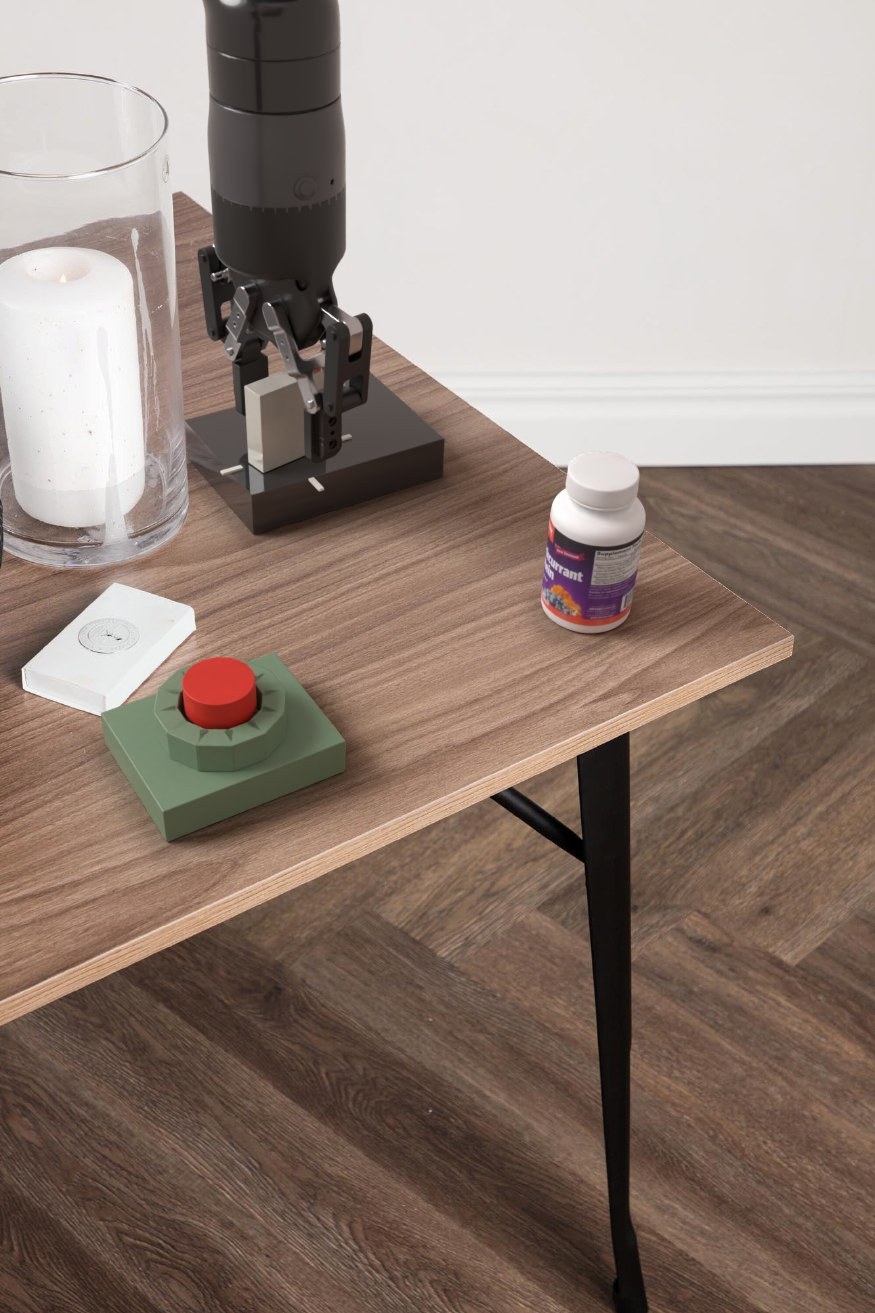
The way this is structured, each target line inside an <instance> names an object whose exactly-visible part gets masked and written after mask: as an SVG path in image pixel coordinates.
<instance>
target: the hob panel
mask: <svg viewBox="0 0 875 1313" xmlns="http://www.w3.org/2000/svg"><path fill="white" fill-rule="evenodd" d="M345 385H346V386H349V380H347V381H346V382H345ZM184 430H185V441H186V452H187V459H188V460H189V461H190V463H191V464H192V465H193V466H194V468H195V469H196V470H197V471H198V472H199V473H200V474H201V476H202V477H203V478H204V479H205V480H206V481H207V483H208V484H209V485H210V486H211V487H212V488H213V490H214V491H215V492H216V493H217V494H218V495H219V497H220V498H221V499H222V500H223V501H224V502H225V503H226V505H227V506H228V507H229V508H230V509H231V510H232V511H233V513H234V514H235V515H236V516H237V517H238V518H239V519H240V521H241V522H242V524H244V526H246V528H247V529H248V530H249V531H250V532H251V533H252V534H253V536H254V535H258V534H261V533H262V534H263V533H265V532H267V531H270V530H274V529H278V528H280V527H284V526H287V525H290V524H294V523H296V522H300V521H303V520H307V519H309V518H313V517H317V516H320V515H323V514H325V513H329V512H333V511H335V510H339V509H342V508H346V507H348V506H352V505H355V504H358V503H361V502H365V501H368V500H372V499H374V498H377V497H381V496H384V495H387V494H388V495H389V494H390V493H394V492H396V491H400V490H404V489H407V488H410V487H413V486H417V485H420V484H422V483H426V482H430V481H432V480H436V479H439V478H443V477H444V461H445V445H446V444H445V442H446V438H445V437H444V436H443V435H442V434H441V433H440V432H439V431H437V429H435V428H434V427H433V426H431V424H430V423H429V422H427V421H426V420H425V419H424V417H421V416H420V415H419V414H418V413H417V412H416V411H415V410H413V408H412V407H410V406H409V405H408V404H407V403H406V402H405V401H404V400H403V399H402V398H400V397H399V396H398V395H397V394H396V393H395V392H394V391H393V390H392V389H391V388H389V387H388V386H387V385H386V384H384V382H382V381H381V380H380V379H379V378H378V377H376V375H375V374H373V373H372V371H370V373H369V386H368V399H367V402H366V403H365V404H363V405H360V406H358V407H355V408H353V409H351V410H348V411H346V412H343V413H342V431H341V432H342V437H341V438H342V447H341V449H340V451H339V452H338V453H337V454H336V455H335V456H334V457H332V458H329V459H327V460H325V461H322V462H320V463H318V464H314V463H313V462H311V461H310V460H308V459H307V458H306V457H305V456H302V457H300V458H298V459H295V460H293V461H291V462H288V463H286V464H284V465H281V466H279V467H277V468H274V469H272V470H270V471H267V472H265V473H263V472H261V471H260V470H258V469H257V468H256V467H254V466H253V465H251V464H250V463H249V462H248V444H247V426H246V417H245V416H243V415H242V414H241V413H239V412H238V411H237V410H236V406H232V407H229V408H225V409H221V410H218V411H214V412H209V413H206V414H202V415H199V416H195V417H191V418H188V419H184Z"/></svg>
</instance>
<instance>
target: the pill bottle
mask: <svg viewBox="0 0 875 1313" xmlns="http://www.w3.org/2000/svg"><path fill="white" fill-rule="evenodd" d="M640 475H641V474H640V470H639V467H638V466H637V465H636V464H635V463H634V461H633V460H631V459H629V458H628V457H626V456H624V455H622V454H619V453H615V452H611V451H602V450H594V451H588V452H583V453H581V454H579V455H576V456H575V457H574V458H572V459H571V461H569V463H568V466H567V471H566V479H565V488H563V490H561V491H559V493H558V494H557V495H556V496H555V498H554V500H553V501H552V504H551V507H550V513H549V514H550V515H549V522H548V523H549V524H548V530H547V540H546V548H545V556H544V565H543V572H542V573H543V574H542V582H541V590H540V603H541V606H542V609H543V611H544V613H545V614H546V616H547V617H548V618H549V619H550V620H551V621H552V622H554V623H555V624H556V625H558V626H560V627H561V628H564V629H566V630H569V631H573V632H576V633H581V634H582V633H583V634H598V633H604V632H608V631H611V630H613V629H615V628H616V629H617V627H619V626H621V625H622V624H623V623H624V622H625V621H626V619H627V618H628V616H629V615H630V612H631V608H632V603H633V598H634V592H635V588H636V581H637V575H638V569H639V564H640V558H641V551H642V546H643V540H644V534H645V527H646V519H647V518H646V517H647V515H646V510H645V507H644V505H643V503H642V502H641V500H640V499H639V497H638V492H639V484H640Z"/></svg>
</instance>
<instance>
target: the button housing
mask: <svg viewBox="0 0 875 1313" xmlns="http://www.w3.org/2000/svg"><path fill="white" fill-rule="evenodd" d="M235 659H236V660H239V661H241V662H243V663H245V664H247V665H248V666H249V667H250V668H251V669H252V671H253V673H254V675H255V682H256V700H257V706H256V710H255V713H254V714H253V716H252V717H251V718H250V719H249V720H248V721H247V722H245V723H244V724H241V725H239V726H236V727H233V728H230V729H205V728H202V727H199V726H197V725H196V724H194V723H193V722H192V721H190V719H189V718H188V717H187V715H186V713H185V707H184V698H183V688H182V680H183V677H184V675H185V673H186V672H187V670H188V669H189V668H190V667H192V666H193V665H194V664H196V663H197V662H195V663H192V664H189V665H186V666H183V667H181V668H178V669H177V670H176V671H175V672H173V673H172V674H171V675H170V677H168V678H167V679H166V680H165V681H164V682H163V683H162V684H161V685H160V686H158V687H157V690H156V692H155V693H154V694H151V695H148V696H145V697H142V698H139V699H136V700H134V701H131V702H128V703H125V704H122V705H120V706H117V707H114V708H111V709H108V710H105V711H102V712H100V718H101V725H102V732H103V738H104V743H105V745H106V747H107V749H108V750H109V752H110V753H111V755H112V757H113V758H114V759H115V762H116V763H117V764H118V766H119V768H120V769H121V771H122V773H123V775H124V776H125V778H126V779H127V781H128V783H129V784H130V786H131V788H132V789H133V790H134V792H135V794H136V795H137V797H138V799H139V801H140V802H141V804H142V805H143V806H144V808H145V811H147V813H148V815H149V816H150V818H151V819H152V821H153V823H154V824H155V826H156V828H157V829H158V831H159V832H160V834H161V835H162V837H163V839H164V840H165V842H166V843H169V842H171V841H174V840H176V839H179V838H181V837H184V836H186V835H188V834H192V833H194V832H197V831H198V830H201V829H204V828H206V827H209V826H211V825H214V824H216V823H218V822H221V821H225V820H226V819H229V818H232V817H234V816H236V815H239V814H241V813H244V812H246V811H249V810H252V809H254V808H257V807H259V806H262V805H264V804H266V803H269V802H272V801H274V800H276V799H279V798H281V797H284V796H286V795H289V794H291V793H294V792H296V791H299V790H302V789H305V788H306V787H309V786H312V785H314V784H316V783H319V782H321V781H324V780H326V779H329V778H331V777H334V776H337V775H339V774H342V773H344V772H346V770H347V742H346V741H347V740H346V739H345V738H344V737H343V736H342V734H341V733H340V732H339V731H338V729H337V727H335V726H334V724H333V723H332V722H331V720H330V719H329V718H328V717H327V715H326V714H325V713H324V711H323V710H322V709H321V707H319V706H318V704H317V702H315V700H314V699H313V698H312V696H311V695H310V694H309V693H308V692H307V690H306V689H305V688H304V687H303V685H302V684H301V683H300V682H299V680H298V679H297V677H296V676H294V674H293V673H292V672H291V670H290V669H289V668H288V667H287V666H286V664H285V663H284V661H283V660H282V659H281V658H280V656H279V655H278V654H277V653H276V652H275V651H273V652H271V653H268V654H265V655H261V656H258V657H256V658H253V659H250V660H247V659H242V658H235Z"/></svg>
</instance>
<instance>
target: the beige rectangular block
mask: <svg viewBox="0 0 875 1313" xmlns="http://www.w3.org/2000/svg"><path fill="white" fill-rule="evenodd" d="M314 379H315V382H316V385H317V388H318V390H319V389H322V388H323V387H324V373H323V370H322V369H321V368H320V369H317V370H315V371H314ZM244 389H245V408H246V426H247V444H248V462H249V463H250V464H251V465H253V466H254V467H256V468H257V469H258V470H260V471H261V472H263V473H265V472H267V471H270V470H272V469H274V468H277V467H279V466H281V465H284V464H286V463H288V462H291V461H293V460H295V459H298V458H300V457H302V456H305V445H304V408H306V407H305V404H304V401H303V398H302V395H301V392H300V389H299V386H298V383H297V380H296V379H295V378H294V377H291V376H289V375H288V374H287V372H286V370H285V369H284V370H282V371H279V372H276V373H275V374H271V375H269V377H266V378H264V379H261V380H258V381H256V382H253V383H251V384H248V385H245V386H244Z"/></svg>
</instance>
